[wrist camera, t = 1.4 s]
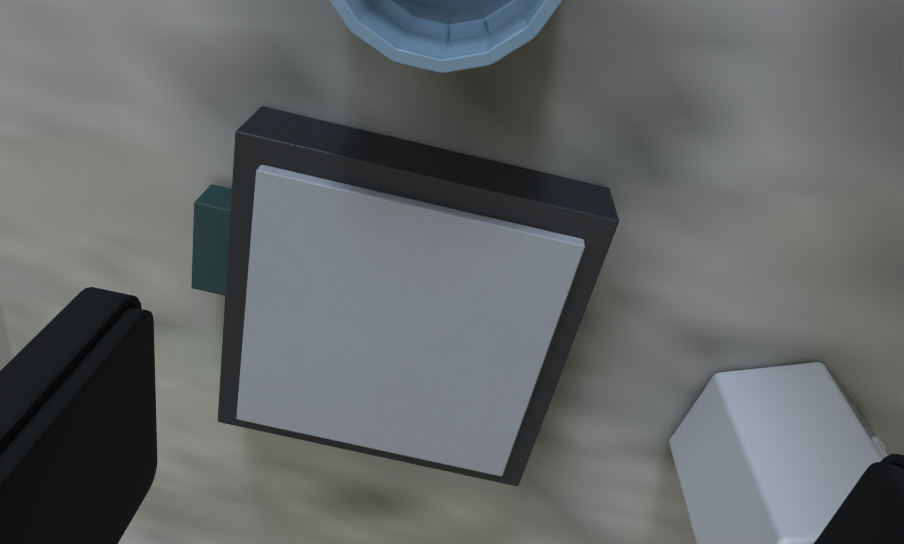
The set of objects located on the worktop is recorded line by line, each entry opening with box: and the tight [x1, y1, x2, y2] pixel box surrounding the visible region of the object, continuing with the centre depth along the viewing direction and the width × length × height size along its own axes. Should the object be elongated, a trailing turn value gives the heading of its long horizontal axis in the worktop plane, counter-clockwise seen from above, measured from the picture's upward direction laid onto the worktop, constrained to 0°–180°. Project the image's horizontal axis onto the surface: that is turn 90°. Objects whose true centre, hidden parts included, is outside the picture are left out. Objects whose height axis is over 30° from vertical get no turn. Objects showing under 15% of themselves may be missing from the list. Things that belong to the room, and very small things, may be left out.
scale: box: [192, 107, 619, 486], centre depth 29 cm, size 14×16×4 cm
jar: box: [669, 362, 890, 544], centre depth 28 cm, size 9×8×12 cm
